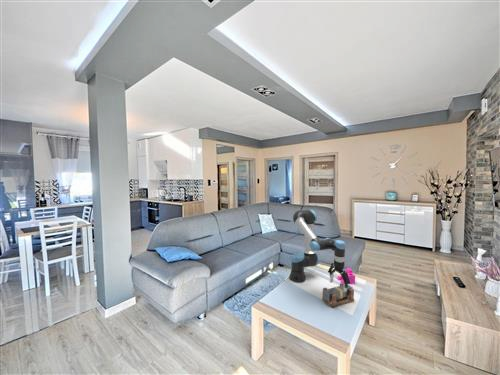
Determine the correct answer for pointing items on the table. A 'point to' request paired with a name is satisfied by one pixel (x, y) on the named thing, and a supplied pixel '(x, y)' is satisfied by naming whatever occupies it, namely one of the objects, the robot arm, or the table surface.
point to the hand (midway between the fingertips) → (338, 286)
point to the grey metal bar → (336, 292)
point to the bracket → (350, 275)
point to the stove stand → (339, 302)
